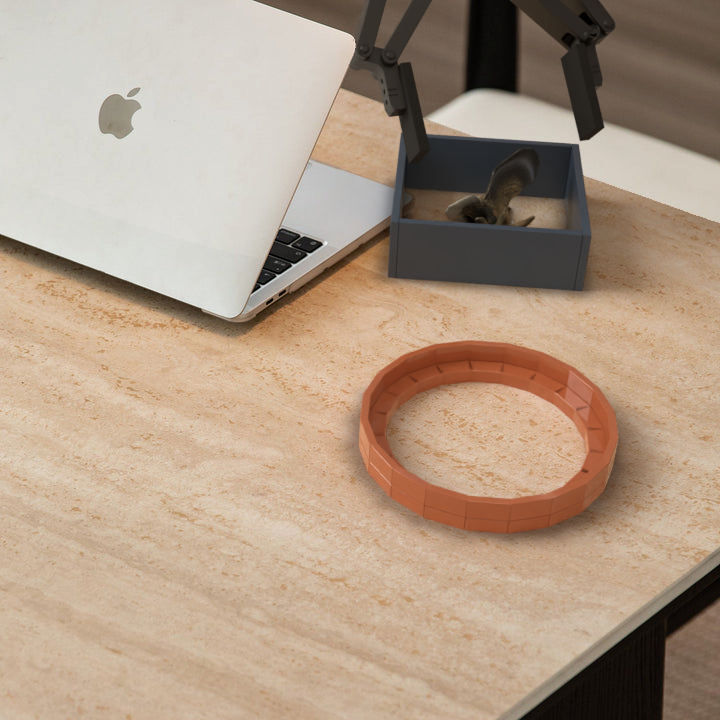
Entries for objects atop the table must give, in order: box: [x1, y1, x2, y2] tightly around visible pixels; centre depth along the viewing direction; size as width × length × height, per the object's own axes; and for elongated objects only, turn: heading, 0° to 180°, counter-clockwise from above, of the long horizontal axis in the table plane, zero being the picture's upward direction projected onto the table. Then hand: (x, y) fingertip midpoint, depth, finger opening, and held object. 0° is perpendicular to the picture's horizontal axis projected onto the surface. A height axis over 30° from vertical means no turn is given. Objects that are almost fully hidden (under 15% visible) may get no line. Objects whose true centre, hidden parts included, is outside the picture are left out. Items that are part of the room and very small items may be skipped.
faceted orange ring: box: [358, 339, 620, 534], centre depth 76 cm, size 15×15×3 cm
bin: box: [387, 132, 593, 292], centre depth 95 cm, size 14×14×6 cm
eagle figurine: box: [445, 147, 540, 227], centre depth 95 cm, size 8×7×9 cm
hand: (507, 146), depth 89 cm, fingers open, 13 cm apart
